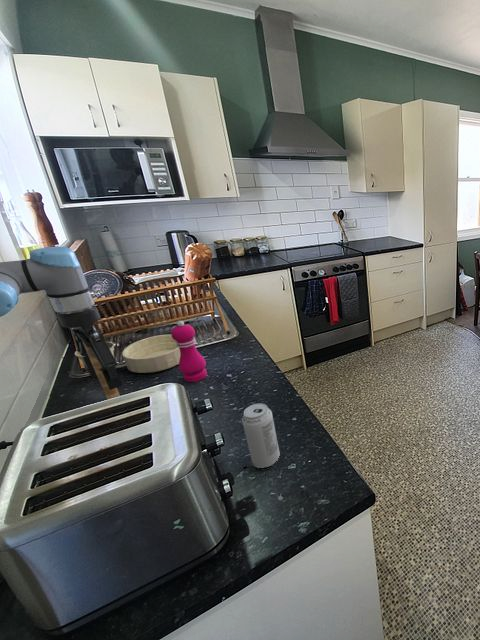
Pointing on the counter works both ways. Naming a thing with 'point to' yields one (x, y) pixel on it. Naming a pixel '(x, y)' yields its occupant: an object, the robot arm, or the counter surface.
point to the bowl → (152, 354)
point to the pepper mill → (189, 353)
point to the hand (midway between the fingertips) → (106, 381)
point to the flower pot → (110, 345)
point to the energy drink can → (260, 435)
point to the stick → (101, 375)
